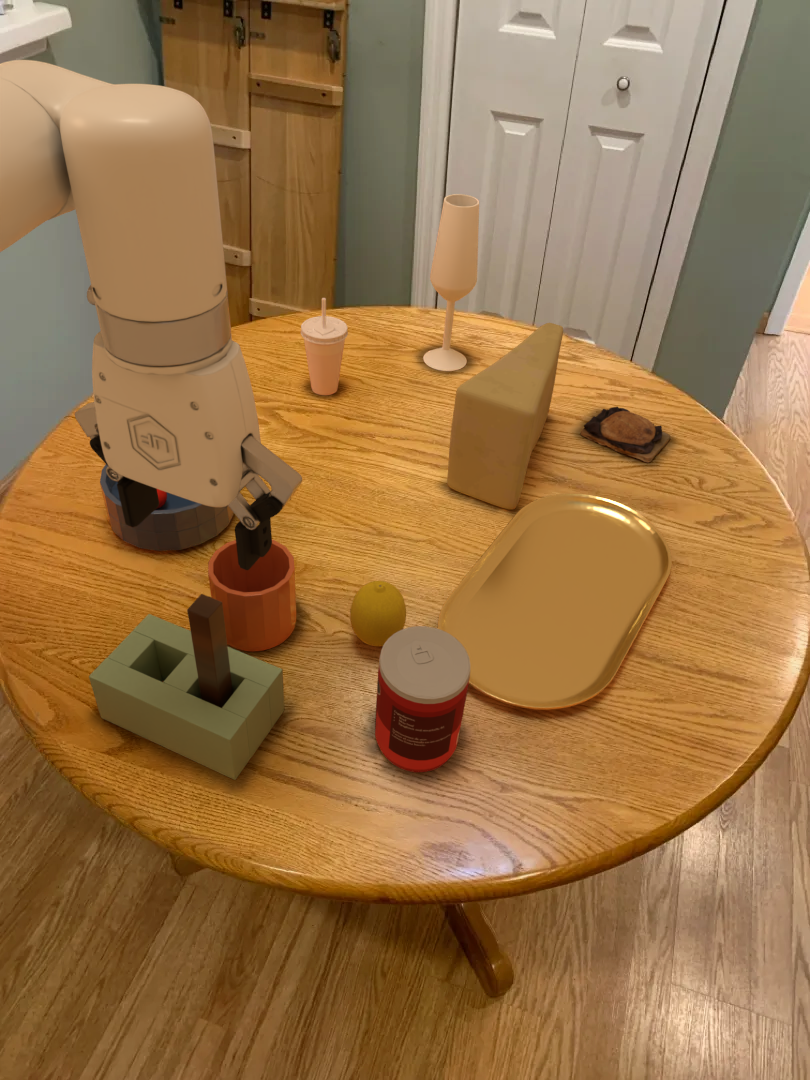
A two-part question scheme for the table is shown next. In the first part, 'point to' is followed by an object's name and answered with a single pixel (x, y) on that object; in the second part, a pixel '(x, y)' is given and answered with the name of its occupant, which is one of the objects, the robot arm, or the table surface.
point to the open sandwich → (626, 433)
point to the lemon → (377, 612)
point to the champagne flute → (454, 269)
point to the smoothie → (324, 350)
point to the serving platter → (557, 600)
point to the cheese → (503, 419)
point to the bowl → (165, 521)
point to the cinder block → (187, 697)
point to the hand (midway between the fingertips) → (197, 536)
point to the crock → (255, 596)
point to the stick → (210, 650)
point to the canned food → (420, 697)
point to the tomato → (161, 497)
